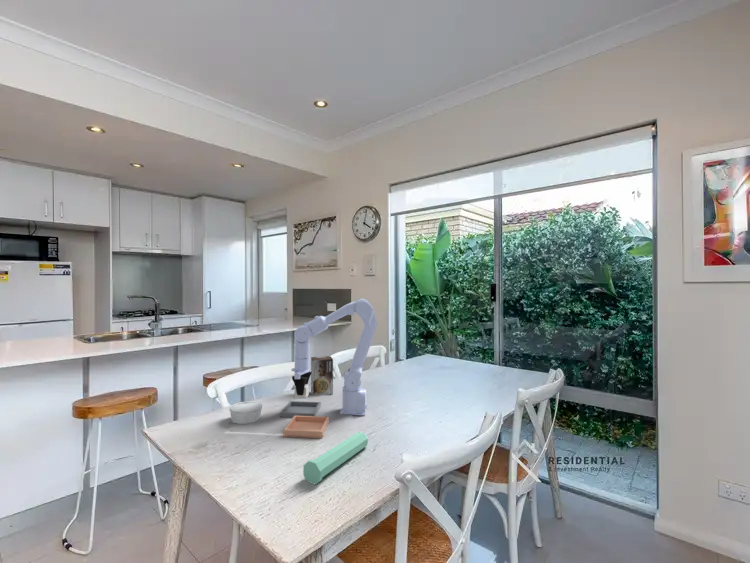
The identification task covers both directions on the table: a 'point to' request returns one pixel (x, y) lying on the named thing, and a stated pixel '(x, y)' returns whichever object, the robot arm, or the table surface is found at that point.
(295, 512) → the table surface
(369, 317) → the robot arm
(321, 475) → the mint green octagonal prism
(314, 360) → the coffee box
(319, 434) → the terracotta tray
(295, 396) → the white cube
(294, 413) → the grey tray
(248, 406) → the ramekin
